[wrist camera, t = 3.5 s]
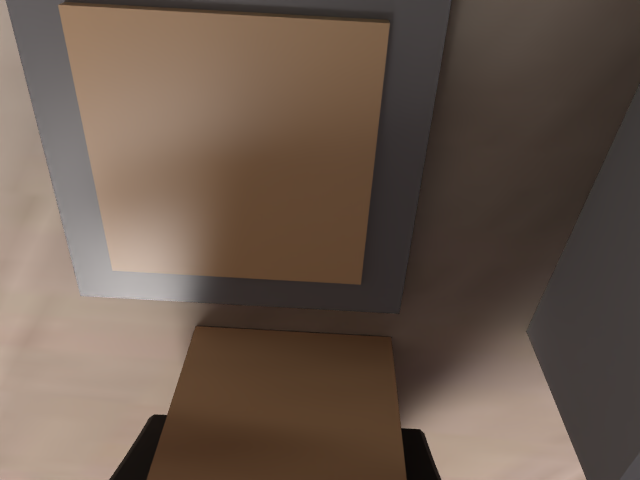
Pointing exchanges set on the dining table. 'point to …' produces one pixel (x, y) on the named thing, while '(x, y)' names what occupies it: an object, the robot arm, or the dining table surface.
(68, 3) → the card
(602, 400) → the slate base block
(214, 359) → the walnut block
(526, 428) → the dining table surface
